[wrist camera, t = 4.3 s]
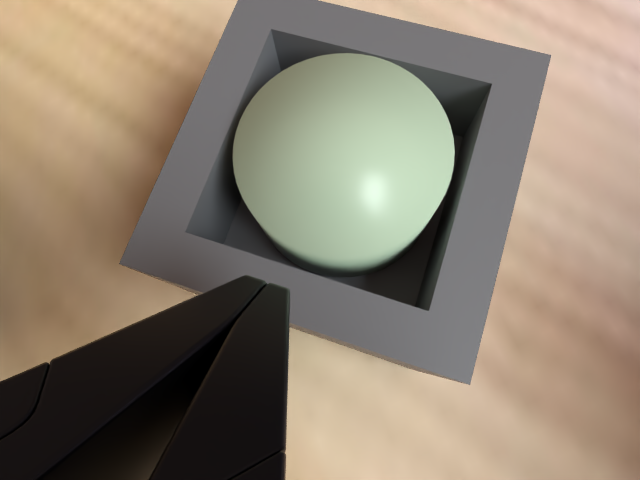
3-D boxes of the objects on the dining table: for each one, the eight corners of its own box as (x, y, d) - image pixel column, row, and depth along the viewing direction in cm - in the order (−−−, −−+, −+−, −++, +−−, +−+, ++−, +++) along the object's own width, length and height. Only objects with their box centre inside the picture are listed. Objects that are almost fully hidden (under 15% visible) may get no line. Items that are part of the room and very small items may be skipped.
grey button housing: (415, 370, 18) (470, 384, 10) (212, 300, 19) (118, 263, 11) (470, 172, 20) (551, 55, 12) (283, 120, 21) (245, -17, 13)
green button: (403, 301, 13) (420, 287, 10) (230, 245, 14) (199, 216, 11) (451, 137, 14) (478, 82, 11) (290, 94, 15) (276, 31, 12)
